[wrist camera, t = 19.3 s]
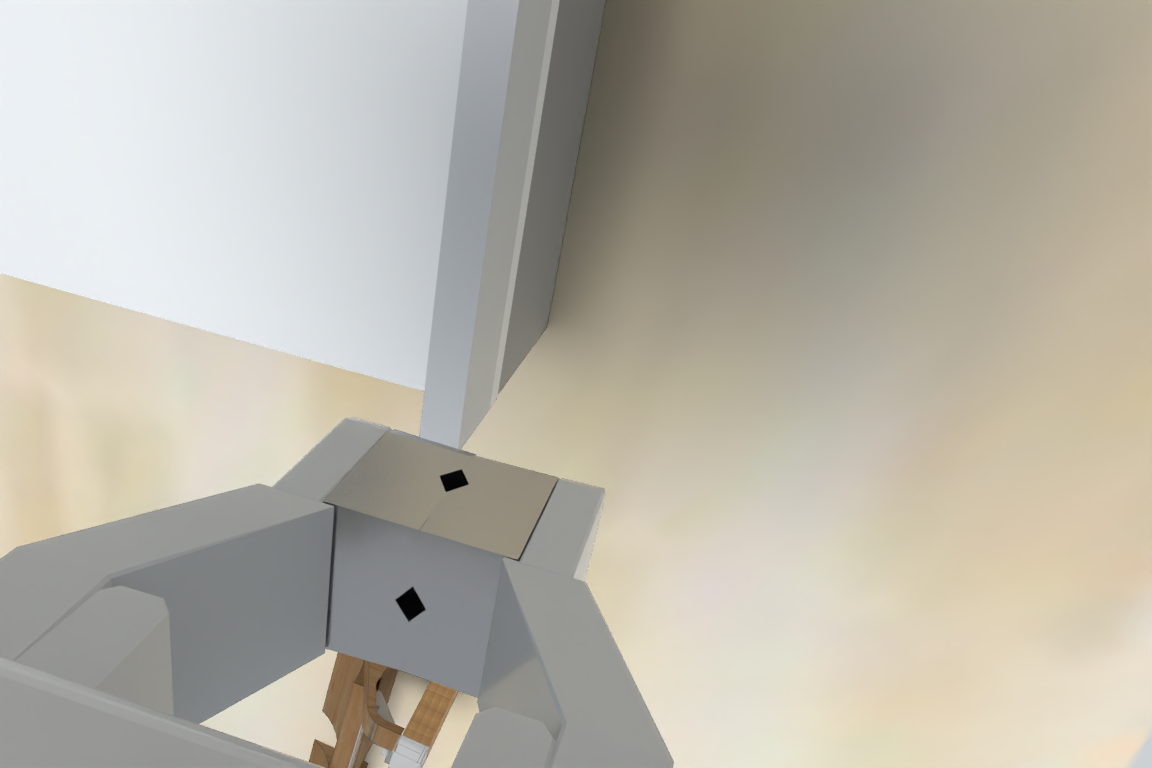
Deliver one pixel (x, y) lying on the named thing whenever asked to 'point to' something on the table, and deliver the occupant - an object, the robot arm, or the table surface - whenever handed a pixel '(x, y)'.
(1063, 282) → the table surface
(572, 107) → the housing
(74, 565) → the robot arm
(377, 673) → the skate ramp
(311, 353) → the lid
